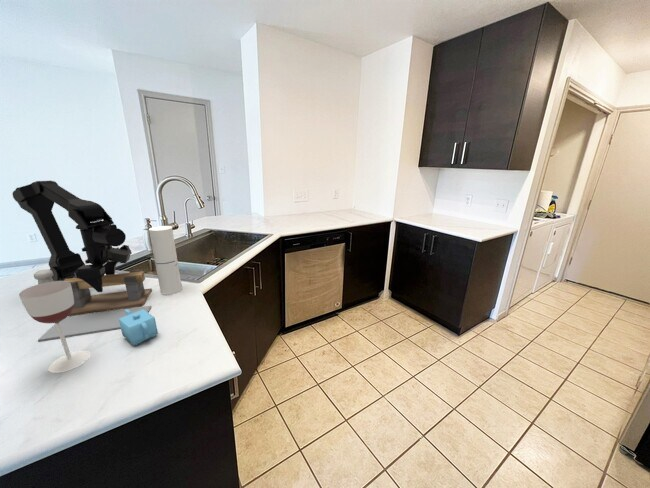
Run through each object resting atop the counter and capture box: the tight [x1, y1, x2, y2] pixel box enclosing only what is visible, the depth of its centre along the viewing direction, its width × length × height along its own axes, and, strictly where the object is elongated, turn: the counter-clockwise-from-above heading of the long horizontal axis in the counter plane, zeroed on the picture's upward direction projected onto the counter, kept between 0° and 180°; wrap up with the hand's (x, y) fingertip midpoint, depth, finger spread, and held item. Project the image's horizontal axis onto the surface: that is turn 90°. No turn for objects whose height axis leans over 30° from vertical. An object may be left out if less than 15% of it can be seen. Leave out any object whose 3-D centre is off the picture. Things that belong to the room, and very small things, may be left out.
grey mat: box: [37, 305, 152, 343], centre depth 78 cm, size 11×24×1 cm, turn 110°
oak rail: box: [64, 270, 146, 289], centre depth 87 cm, size 3×22×3 cm, turn 110°
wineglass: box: [18, 281, 91, 374], centre depth 60 cm, size 8×9×20 cm
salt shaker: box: [33, 268, 54, 285], centre depth 85 cm, size 6×6×13 cm
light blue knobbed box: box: [119, 308, 159, 346], centre depth 72 cm, size 12×6×8 cm, turn 56°
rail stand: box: [67, 269, 153, 317], centre depth 88 cm, size 12×22×10 cm, turn 110°
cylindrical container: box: [148, 225, 183, 296], centre depth 95 cm, size 7×7×25 cm
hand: (106, 285), depth 87 cm, fingers open, 9 cm apart
